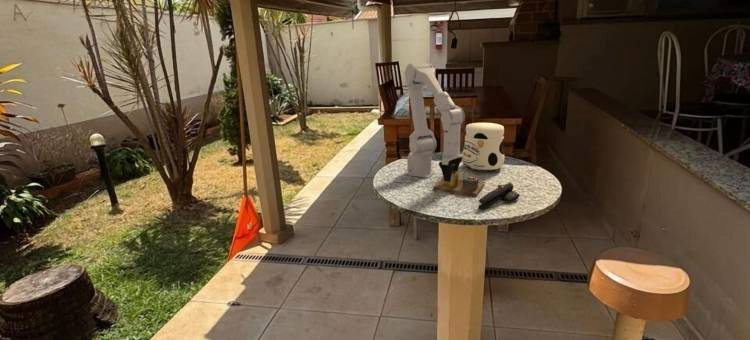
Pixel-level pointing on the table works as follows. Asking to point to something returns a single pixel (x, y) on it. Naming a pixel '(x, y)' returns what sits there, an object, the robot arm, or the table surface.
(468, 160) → the milk container
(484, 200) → the can opener
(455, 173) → the brass gear
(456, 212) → the table surface
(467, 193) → the gear board
